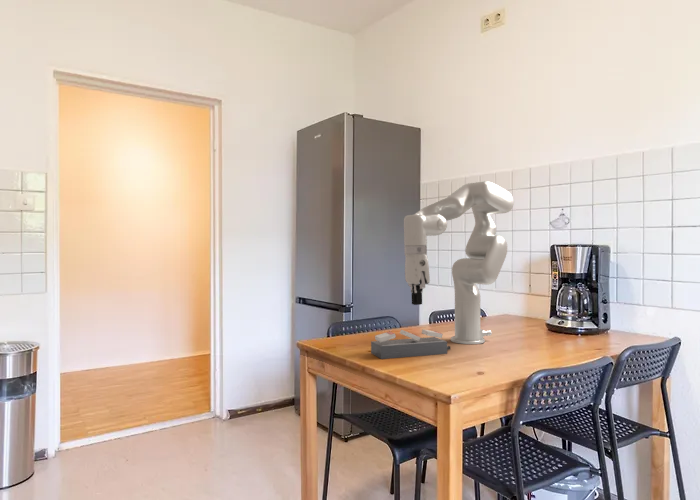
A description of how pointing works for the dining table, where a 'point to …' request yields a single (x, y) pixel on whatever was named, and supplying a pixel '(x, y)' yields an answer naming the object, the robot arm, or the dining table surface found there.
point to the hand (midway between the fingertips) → (417, 304)
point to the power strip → (409, 347)
